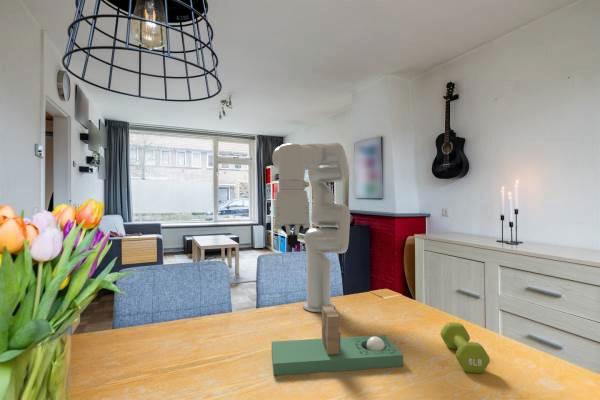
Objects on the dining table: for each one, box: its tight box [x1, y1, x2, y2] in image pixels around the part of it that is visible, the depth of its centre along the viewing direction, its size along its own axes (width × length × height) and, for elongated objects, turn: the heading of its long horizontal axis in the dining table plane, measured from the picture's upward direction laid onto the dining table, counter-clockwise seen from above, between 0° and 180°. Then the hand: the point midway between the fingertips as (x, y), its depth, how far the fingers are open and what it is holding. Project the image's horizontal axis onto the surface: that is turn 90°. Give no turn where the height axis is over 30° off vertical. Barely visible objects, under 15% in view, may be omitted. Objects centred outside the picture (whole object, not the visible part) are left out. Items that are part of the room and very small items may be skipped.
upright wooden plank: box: [321, 306, 341, 355], centre depth 87 cm, size 8×4×10 cm, turn 7°
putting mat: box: [271, 334, 404, 376], centre depth 88 cm, size 12×34×3 cm, turn 97°
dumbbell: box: [440, 322, 491, 374], centre depth 88 cm, size 16×8×7 cm, turn 172°
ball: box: [367, 335, 385, 351], centre depth 89 cm, size 5×5×5 cm
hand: (292, 247), depth 95 cm, fingers closed
